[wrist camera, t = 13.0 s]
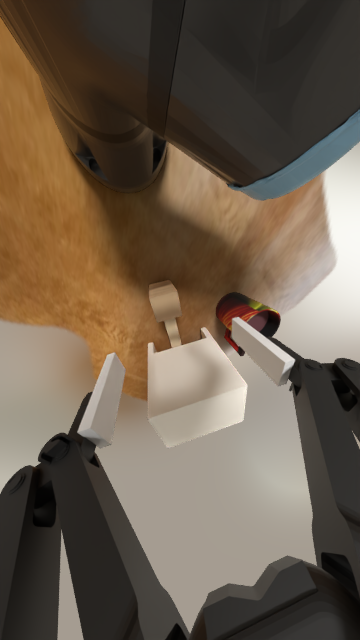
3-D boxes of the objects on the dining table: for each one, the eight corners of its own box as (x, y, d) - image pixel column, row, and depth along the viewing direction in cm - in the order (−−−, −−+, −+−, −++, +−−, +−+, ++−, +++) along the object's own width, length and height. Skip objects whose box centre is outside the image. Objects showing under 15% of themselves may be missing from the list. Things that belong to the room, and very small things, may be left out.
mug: (222, 336, 44) (245, 363, 33) (212, 301, 37) (237, 321, 26) (248, 323, 43) (280, 346, 33) (243, 286, 36) (280, 300, 26)
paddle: (148, 284, 31) (149, 298, 22) (169, 279, 31) (177, 291, 23) (172, 358, 43) (178, 384, 35) (186, 353, 44) (195, 379, 35)
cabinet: (148, 343, 39) (147, 419, 21) (205, 327, 40) (247, 385, 23) (161, 376, 46) (169, 450, 29) (209, 361, 48) (242, 423, 31)
